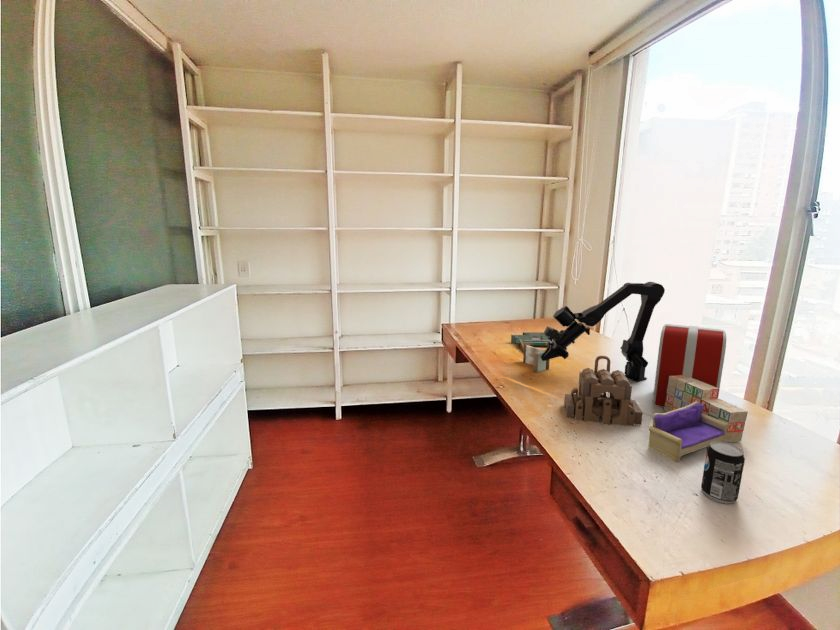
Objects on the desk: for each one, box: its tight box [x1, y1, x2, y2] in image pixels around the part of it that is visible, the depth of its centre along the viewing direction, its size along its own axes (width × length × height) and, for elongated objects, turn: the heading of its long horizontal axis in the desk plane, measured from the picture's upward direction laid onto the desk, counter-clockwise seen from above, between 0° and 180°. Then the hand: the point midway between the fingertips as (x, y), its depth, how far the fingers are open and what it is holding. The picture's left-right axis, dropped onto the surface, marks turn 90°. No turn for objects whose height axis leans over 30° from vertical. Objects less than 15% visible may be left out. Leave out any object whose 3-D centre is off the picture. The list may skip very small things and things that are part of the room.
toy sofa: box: [648, 402, 729, 463], centre depth 107 cm, size 21×9×10 cm, turn 113°
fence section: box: [522, 345, 551, 371], centre depth 171 cm, size 14×2×8 cm, turn 35°
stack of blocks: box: [663, 375, 749, 443], centre depth 118 cm, size 21×6×12 cm, turn 11°
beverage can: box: [700, 441, 746, 505], centre depth 87 cm, size 7×7×12 cm
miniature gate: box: [510, 331, 550, 353], centre depth 200 cm, size 27×6×30 cm
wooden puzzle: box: [563, 355, 644, 427], centre depth 126 cm, size 22×15×19 cm, turn 74°
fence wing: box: [532, 352, 547, 373], centre depth 164 cm, size 6×2×8 cm, turn 116°
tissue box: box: [651, 323, 727, 408], centre depth 132 cm, size 16×18×27 cm
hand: (541, 359), depth 162 cm, fingers closed
